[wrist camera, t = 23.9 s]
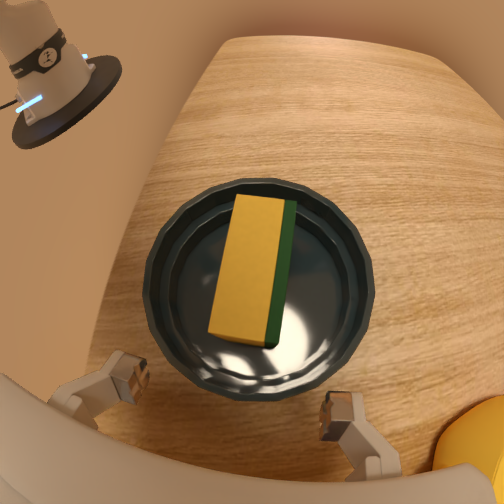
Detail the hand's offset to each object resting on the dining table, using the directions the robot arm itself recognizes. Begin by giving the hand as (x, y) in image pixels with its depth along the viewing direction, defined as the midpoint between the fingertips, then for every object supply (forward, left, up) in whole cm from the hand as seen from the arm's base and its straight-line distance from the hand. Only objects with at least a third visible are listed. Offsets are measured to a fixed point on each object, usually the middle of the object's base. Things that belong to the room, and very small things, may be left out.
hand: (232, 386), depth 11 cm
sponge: (-3, +6, -11) cm, 13 cm away
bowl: (-3, +6, -12) cm, 14 cm away
